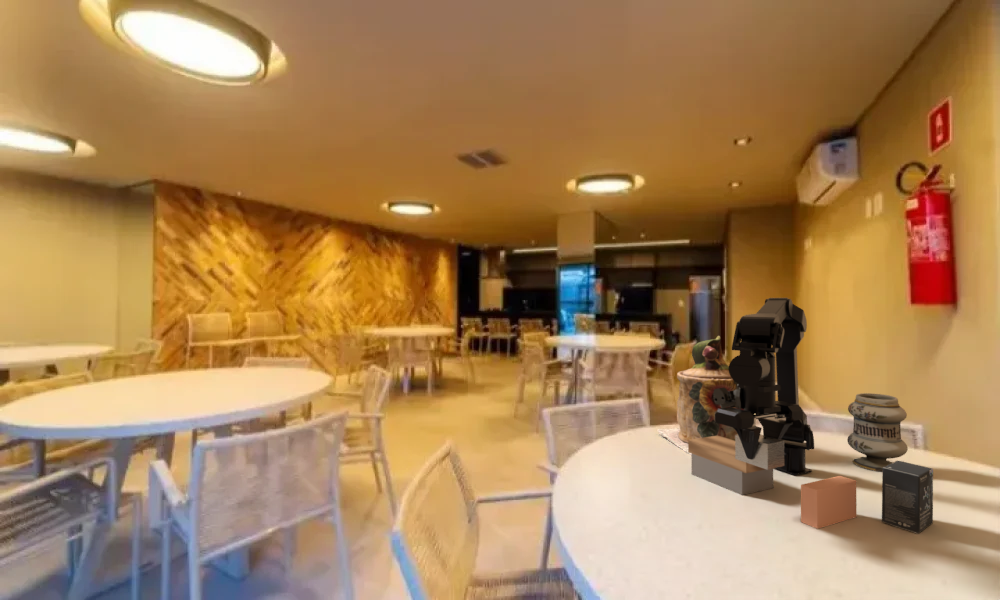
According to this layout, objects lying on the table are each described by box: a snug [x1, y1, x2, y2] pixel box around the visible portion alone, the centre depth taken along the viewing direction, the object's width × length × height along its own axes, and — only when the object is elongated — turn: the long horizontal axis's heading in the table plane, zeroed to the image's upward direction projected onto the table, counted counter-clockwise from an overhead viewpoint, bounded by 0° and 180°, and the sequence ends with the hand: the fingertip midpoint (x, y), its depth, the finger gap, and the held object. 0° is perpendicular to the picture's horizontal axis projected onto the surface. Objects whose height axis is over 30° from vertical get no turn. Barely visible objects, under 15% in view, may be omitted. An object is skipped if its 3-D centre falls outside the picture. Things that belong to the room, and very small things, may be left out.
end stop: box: [800, 475, 857, 530], centre depth 91 cm, size 12×3×7 cm, turn 114°
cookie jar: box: [657, 335, 744, 456], centre depth 141 cm, size 25×25×32 cm
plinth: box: [691, 454, 774, 496], centre depth 111 cm, size 10×14×5 cm
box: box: [881, 460, 934, 534], centre depth 90 cm, size 8×6×11 cm
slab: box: [688, 436, 765, 473], centre depth 111 cm, size 10×16×3 cm, turn 24°
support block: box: [735, 433, 784, 470], centre depth 95 cm, size 5×7×5 cm
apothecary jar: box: [846, 392, 909, 472], centre depth 122 cm, size 12×12×18 cm
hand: (759, 457), depth 95 cm, fingers closed on support block, 5 cm apart
